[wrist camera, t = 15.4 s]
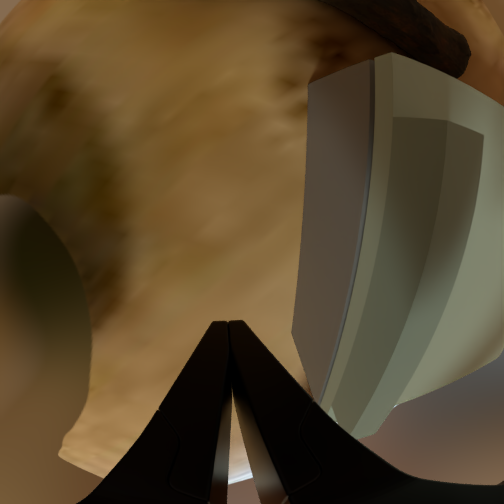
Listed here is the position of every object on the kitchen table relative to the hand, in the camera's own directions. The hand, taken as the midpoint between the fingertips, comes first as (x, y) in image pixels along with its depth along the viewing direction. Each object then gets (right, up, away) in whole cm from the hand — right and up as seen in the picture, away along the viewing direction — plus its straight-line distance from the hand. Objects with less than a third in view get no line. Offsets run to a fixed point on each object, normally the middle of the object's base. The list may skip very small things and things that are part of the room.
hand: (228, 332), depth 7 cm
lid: (+12, +1, +3) cm, 13 cm away
